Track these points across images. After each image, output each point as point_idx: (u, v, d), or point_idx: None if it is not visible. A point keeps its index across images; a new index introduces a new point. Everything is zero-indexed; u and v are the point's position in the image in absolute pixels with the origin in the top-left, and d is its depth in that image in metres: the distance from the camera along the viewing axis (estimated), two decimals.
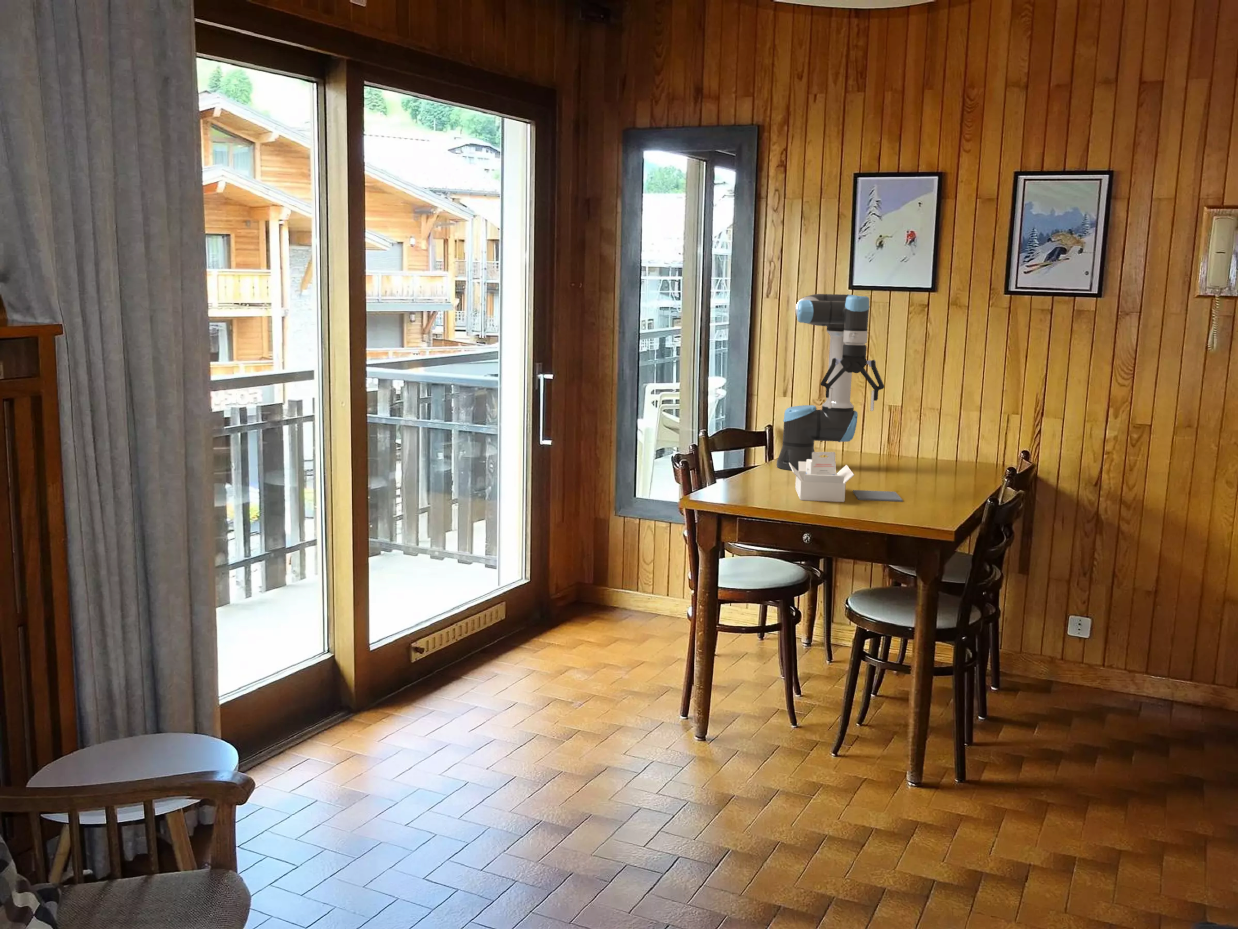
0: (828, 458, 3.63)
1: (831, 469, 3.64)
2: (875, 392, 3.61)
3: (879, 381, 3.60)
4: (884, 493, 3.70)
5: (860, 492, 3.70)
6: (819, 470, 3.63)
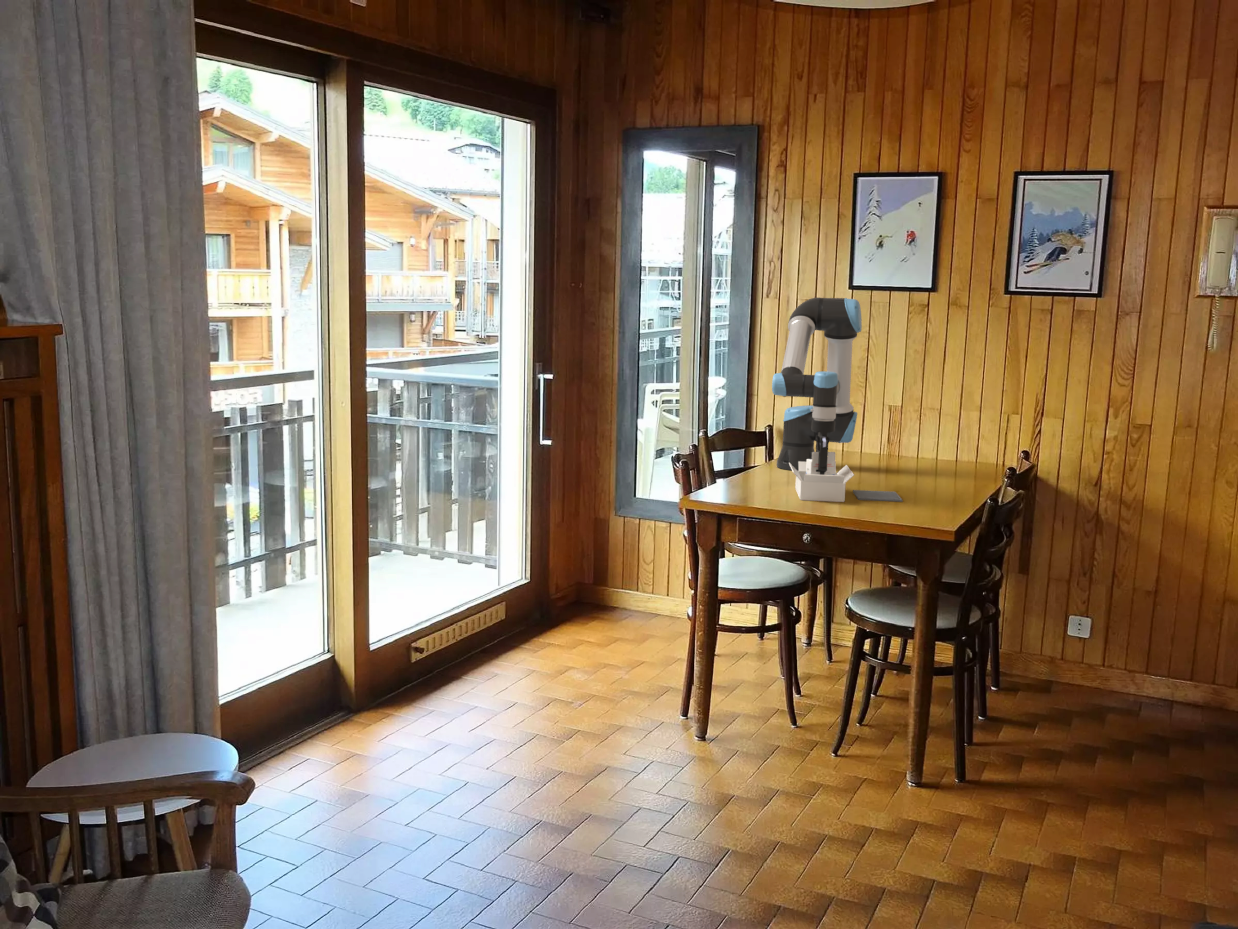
0: (828, 458, 3.63)
1: (831, 468, 3.64)
2: (819, 473, 3.62)
3: (819, 462, 3.59)
4: (884, 493, 3.70)
5: (860, 492, 3.70)
6: None
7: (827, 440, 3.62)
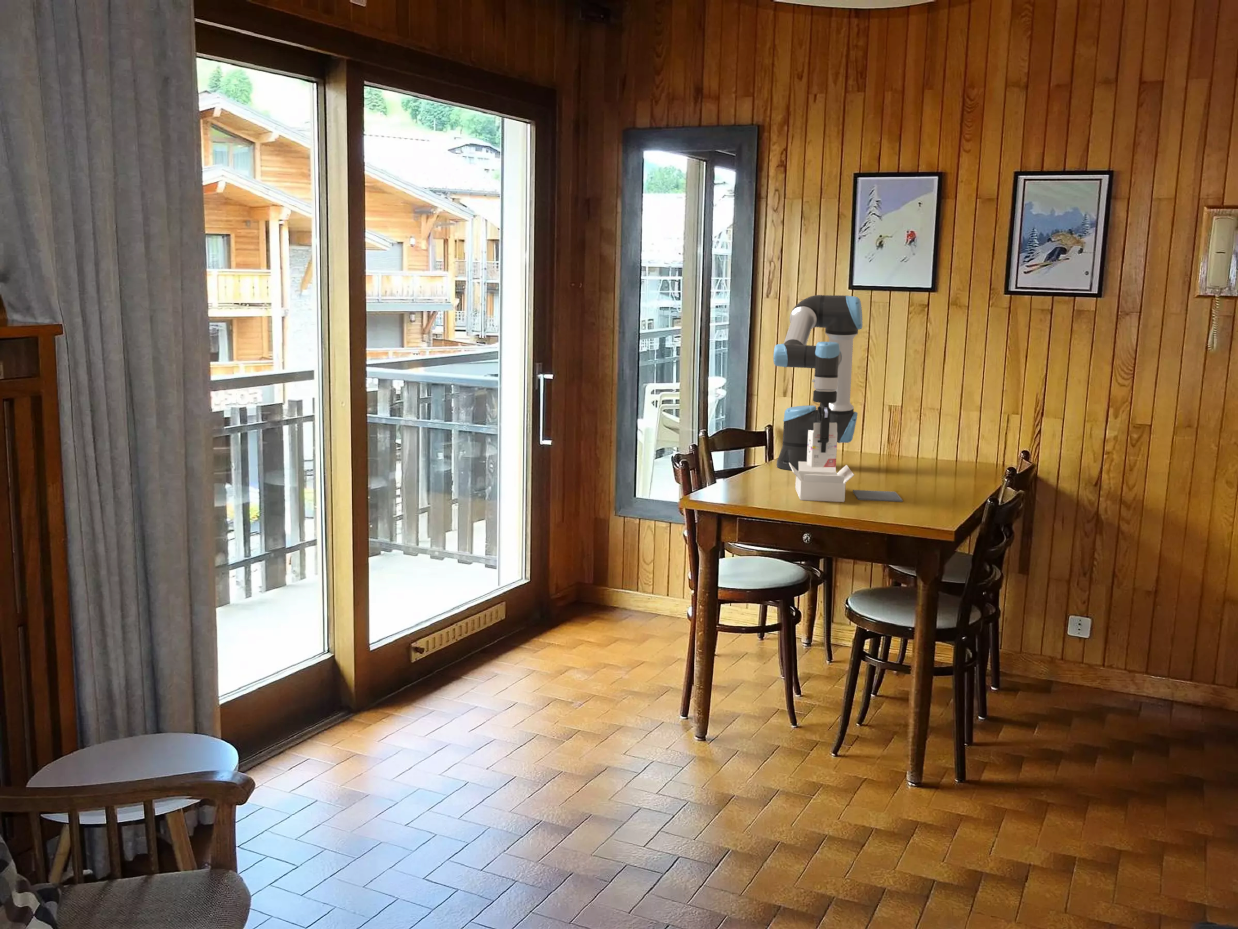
0: (830, 429, 3.62)
1: (832, 439, 3.62)
2: (821, 444, 3.60)
3: (821, 433, 3.58)
4: (884, 493, 3.70)
5: (860, 492, 3.70)
6: None
7: (829, 411, 3.60)
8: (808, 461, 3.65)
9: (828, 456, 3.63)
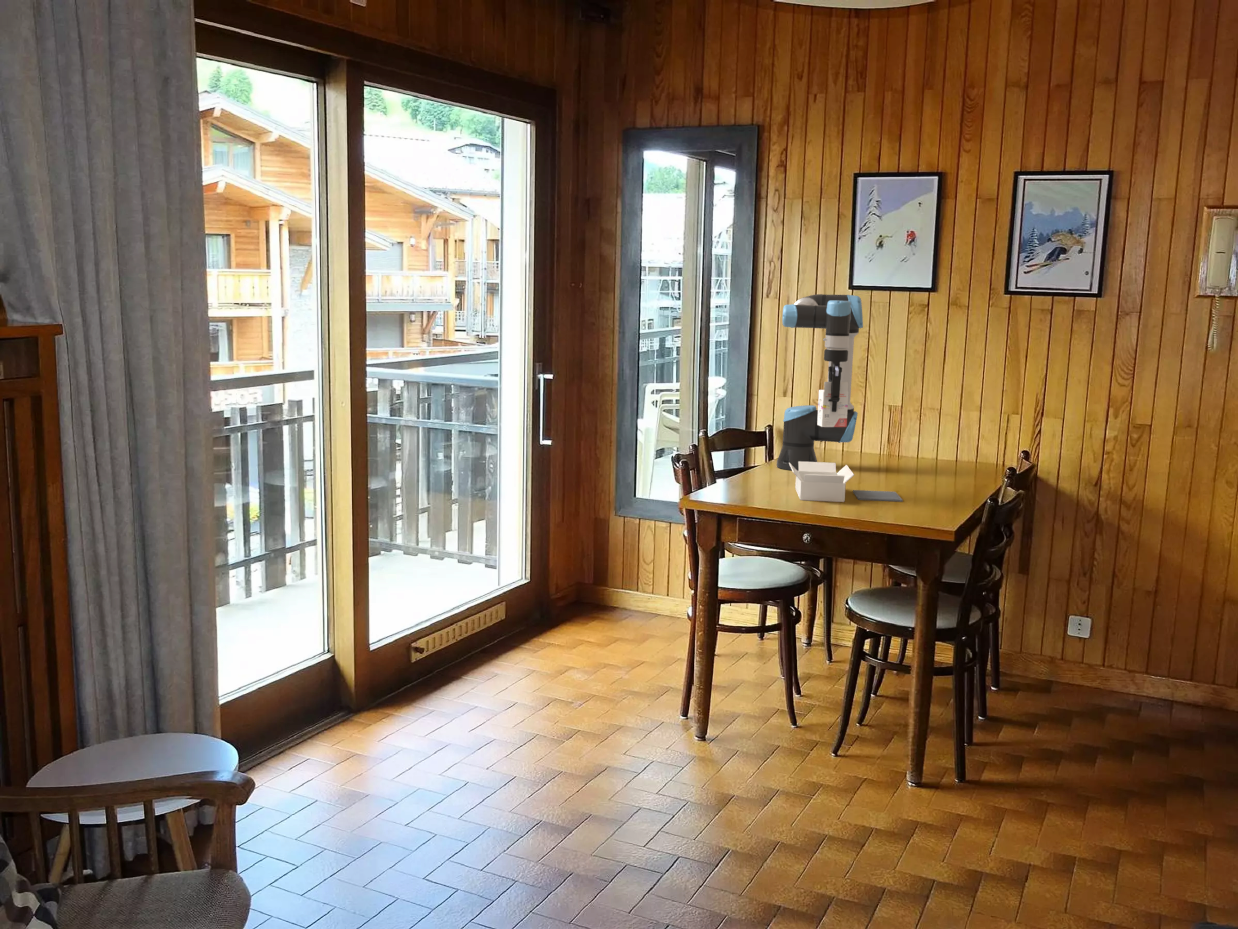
0: (841, 388, 3.59)
1: (843, 399, 3.60)
2: (832, 403, 3.58)
3: (831, 392, 3.55)
4: (884, 493, 3.70)
5: (860, 492, 3.70)
6: None
7: (840, 370, 3.58)
8: (819, 421, 3.63)
9: (839, 416, 3.60)
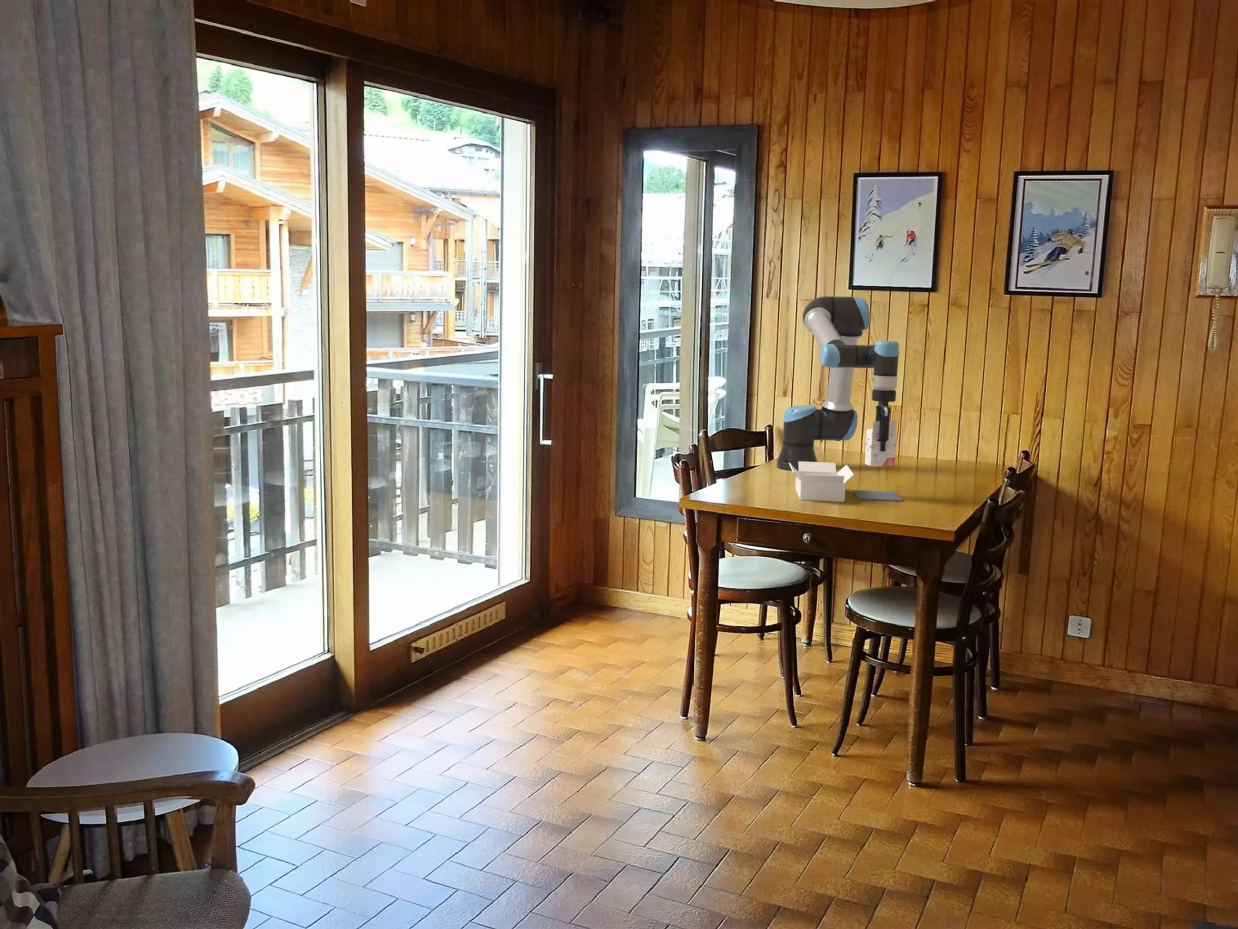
0: (889, 427, 3.61)
1: (891, 438, 3.62)
2: (880, 443, 3.60)
3: (880, 431, 3.57)
4: (884, 493, 3.70)
5: (860, 492, 3.70)
6: None
7: (888, 409, 3.60)
8: (867, 460, 3.65)
9: (887, 455, 3.62)
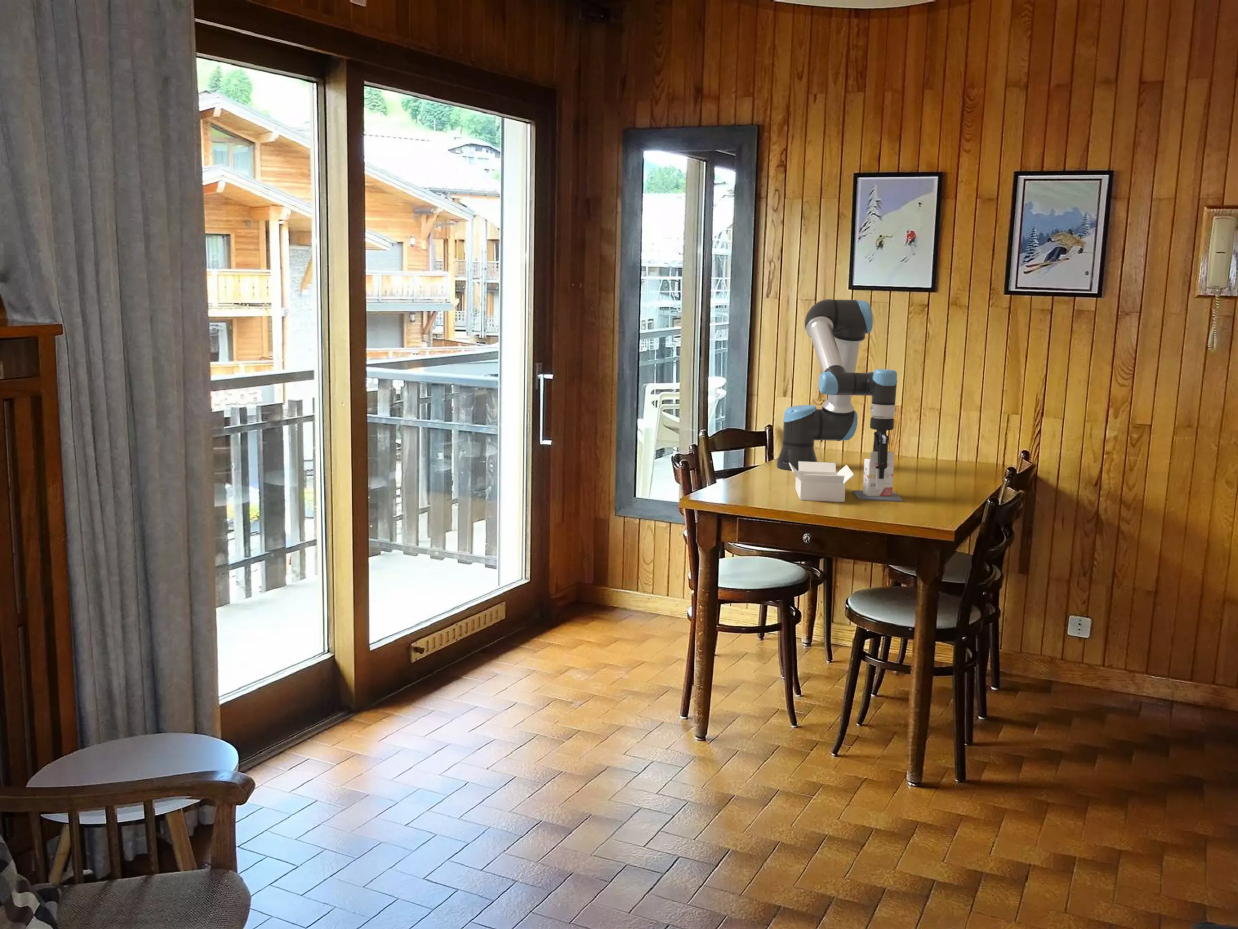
0: None
1: (889, 468, 3.64)
2: (879, 470, 3.60)
3: (879, 459, 3.58)
4: None
5: (860, 492, 3.70)
6: None
7: None
8: (864, 489, 3.67)
9: None
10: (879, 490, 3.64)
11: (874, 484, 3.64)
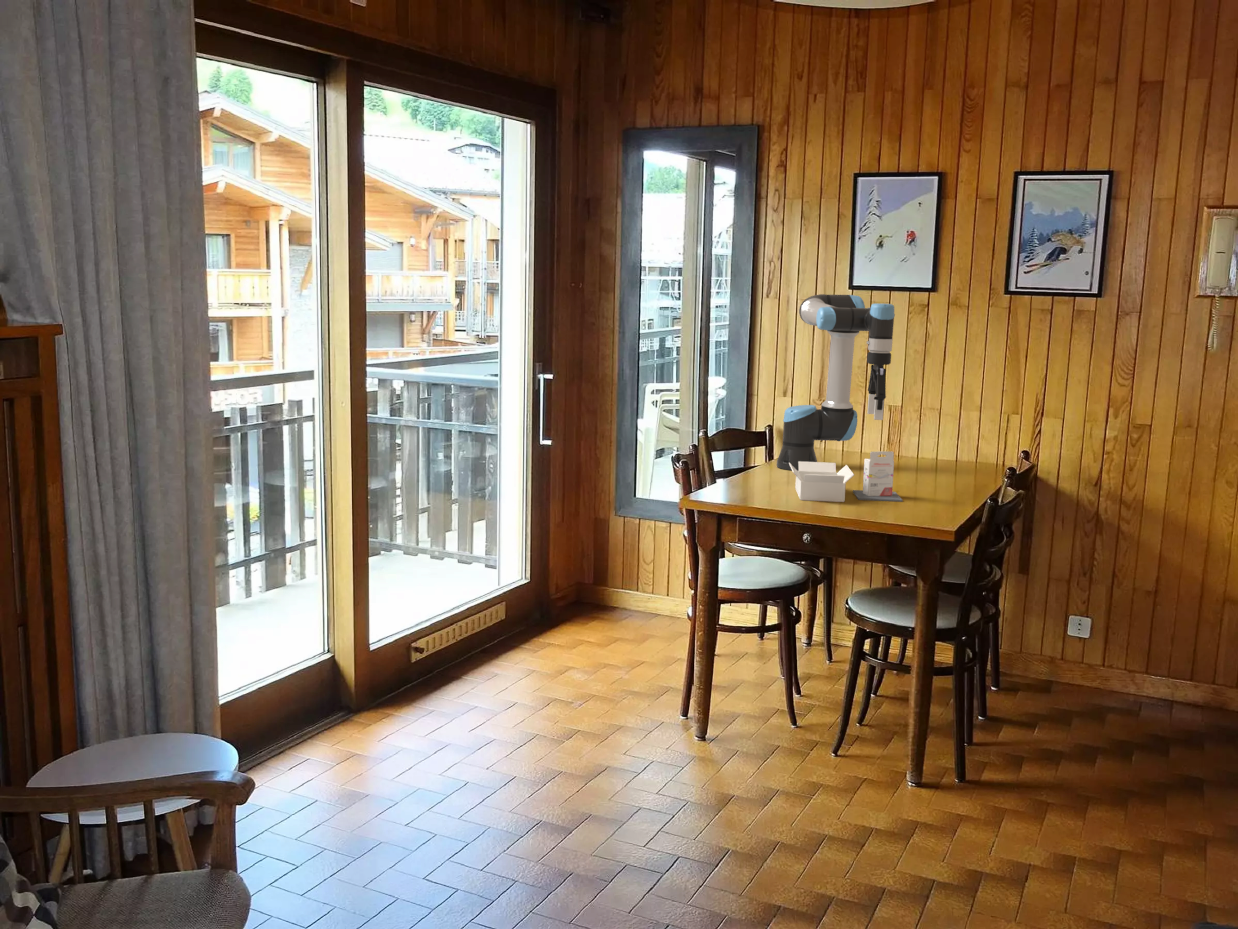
0: (886, 458, 3.63)
1: (889, 468, 3.64)
2: (877, 401, 3.57)
3: (877, 390, 3.55)
4: None
5: (860, 492, 3.70)
6: (877, 470, 3.63)
7: None
8: (864, 489, 3.67)
9: (884, 485, 3.64)
10: (879, 490, 3.64)
11: (874, 484, 3.64)
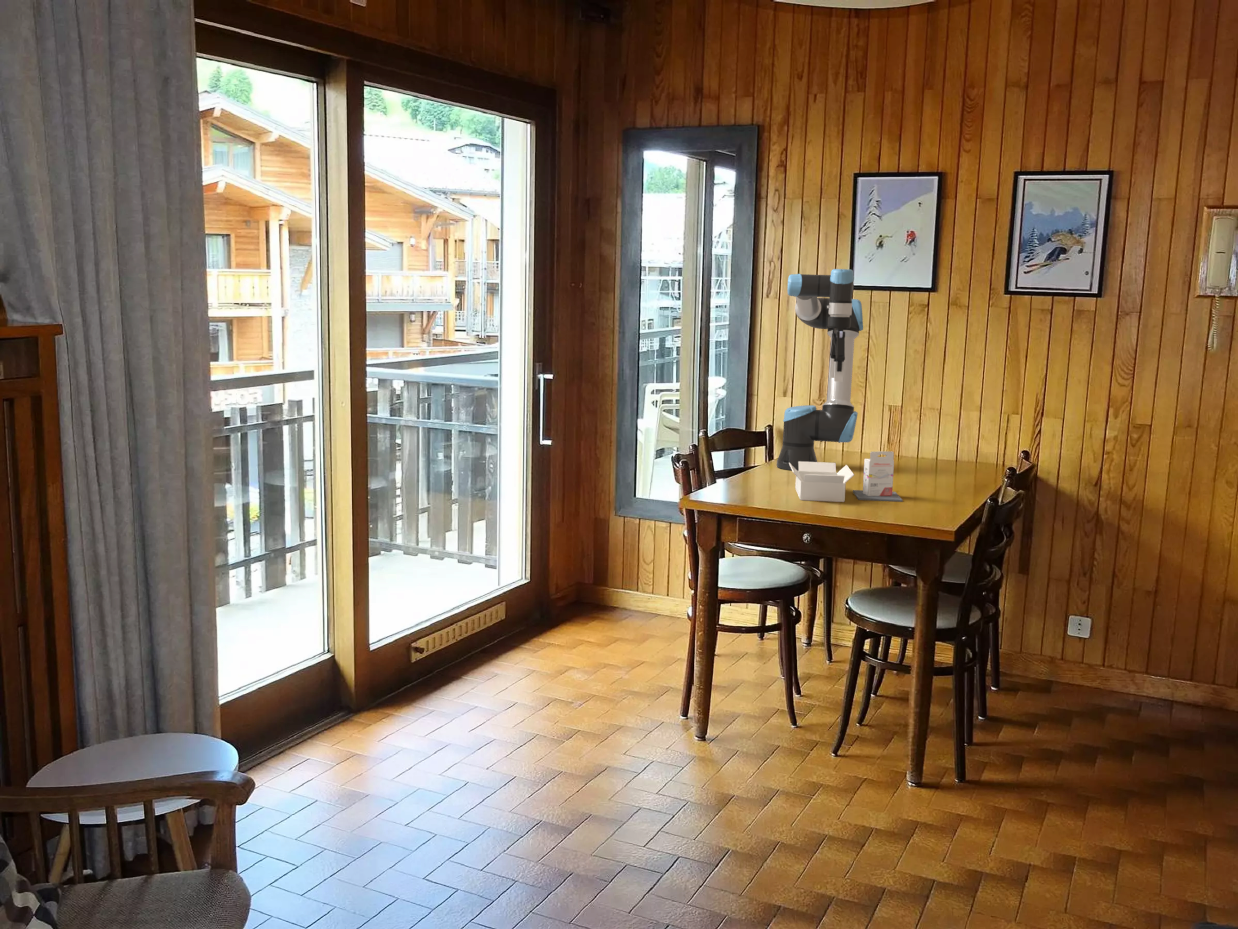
0: (886, 458, 3.63)
1: (889, 468, 3.64)
2: (837, 363, 3.67)
3: (837, 352, 3.66)
4: None
5: (860, 492, 3.70)
6: (877, 470, 3.63)
7: None
8: (864, 489, 3.67)
9: (884, 485, 3.64)
10: (879, 490, 3.64)
11: (874, 484, 3.64)
